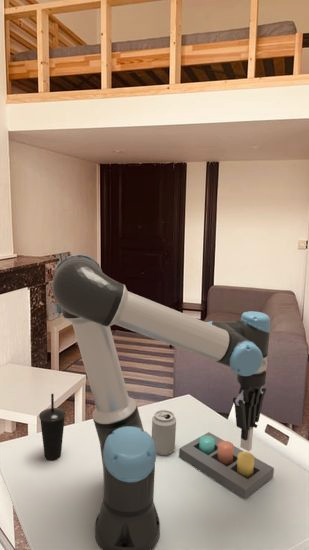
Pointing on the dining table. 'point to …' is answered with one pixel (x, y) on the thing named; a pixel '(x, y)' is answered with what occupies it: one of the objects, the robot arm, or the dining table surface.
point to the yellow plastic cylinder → (245, 464)
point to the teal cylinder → (207, 444)
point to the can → (164, 431)
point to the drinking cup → (52, 431)
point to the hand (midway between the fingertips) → (245, 448)
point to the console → (226, 468)
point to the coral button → (225, 453)
